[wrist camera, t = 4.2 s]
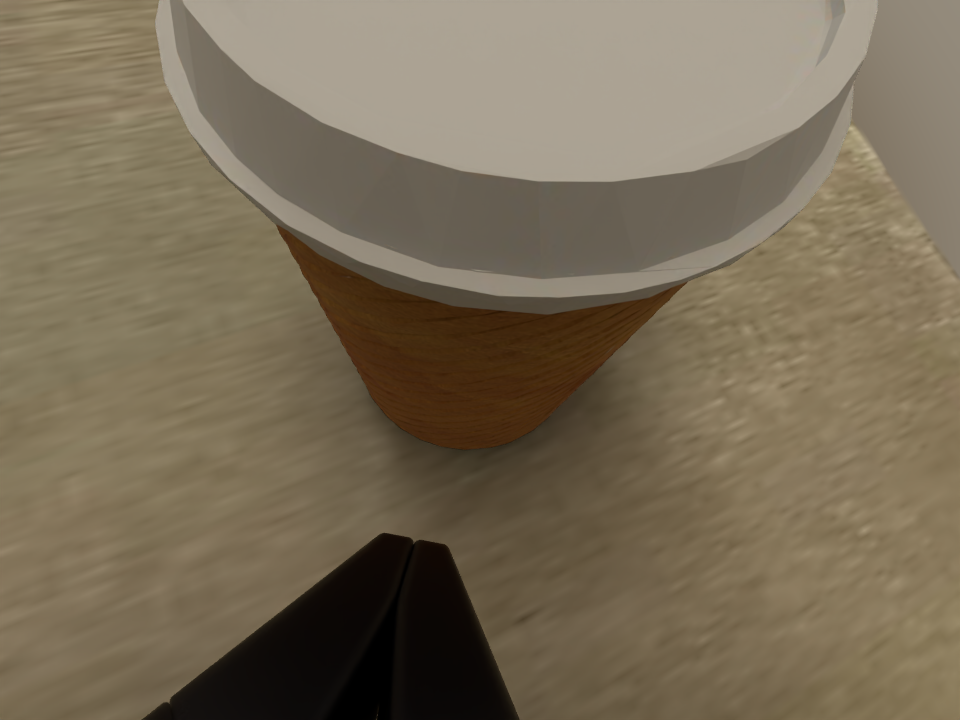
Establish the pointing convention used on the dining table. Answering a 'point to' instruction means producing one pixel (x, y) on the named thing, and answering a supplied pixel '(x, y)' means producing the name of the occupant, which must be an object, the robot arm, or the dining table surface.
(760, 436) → the dining table surface
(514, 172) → the disposable coffee cup
